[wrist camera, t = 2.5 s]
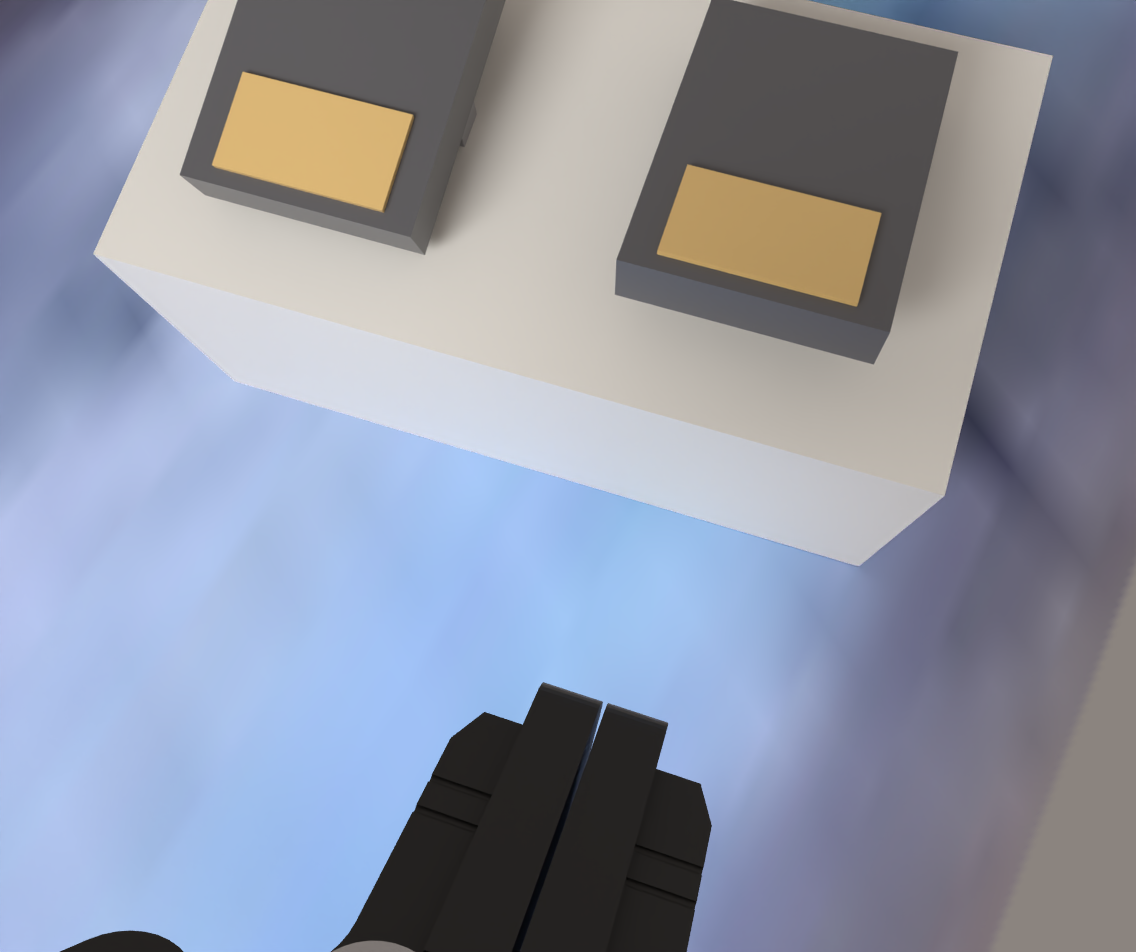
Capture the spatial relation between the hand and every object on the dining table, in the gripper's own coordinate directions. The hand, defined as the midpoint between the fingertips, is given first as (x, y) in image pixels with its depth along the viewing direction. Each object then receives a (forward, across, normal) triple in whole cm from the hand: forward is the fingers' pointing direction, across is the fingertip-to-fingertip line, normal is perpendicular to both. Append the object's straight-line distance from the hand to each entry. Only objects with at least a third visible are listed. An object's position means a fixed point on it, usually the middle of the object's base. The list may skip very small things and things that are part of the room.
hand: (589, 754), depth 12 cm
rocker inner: (+17, +11, -3) cm, 20 cm away
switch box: (+25, +6, +6) cm, 26 cm away
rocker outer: (+17, 0, -3) cm, 17 cm away
